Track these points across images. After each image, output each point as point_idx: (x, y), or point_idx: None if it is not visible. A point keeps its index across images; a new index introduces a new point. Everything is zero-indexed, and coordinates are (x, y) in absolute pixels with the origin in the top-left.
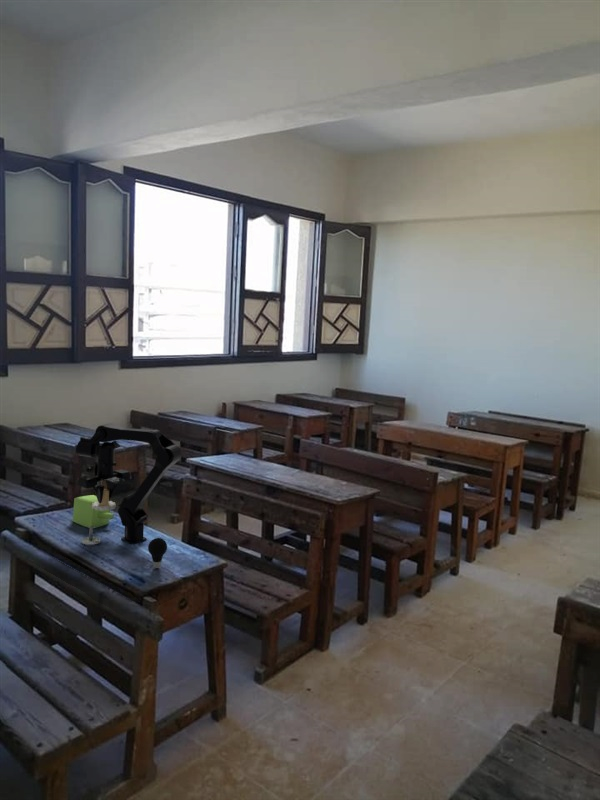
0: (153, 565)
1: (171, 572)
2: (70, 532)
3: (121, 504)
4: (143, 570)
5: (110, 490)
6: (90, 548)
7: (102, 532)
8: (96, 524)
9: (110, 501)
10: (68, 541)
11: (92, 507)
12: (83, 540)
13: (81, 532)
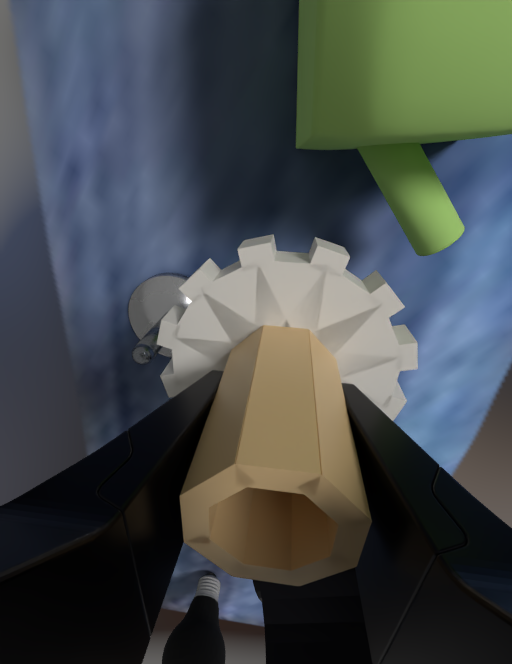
0: (198, 584)
1: (224, 599)
2: (163, 96)
3: (265, 609)
4: (177, 559)
5: (370, 564)
6: (138, 365)
7: (305, 249)
8: (341, 149)
9: (400, 358)
10: (92, 227)
11: (169, 315)
12: (139, 299)
13: (216, 153)
